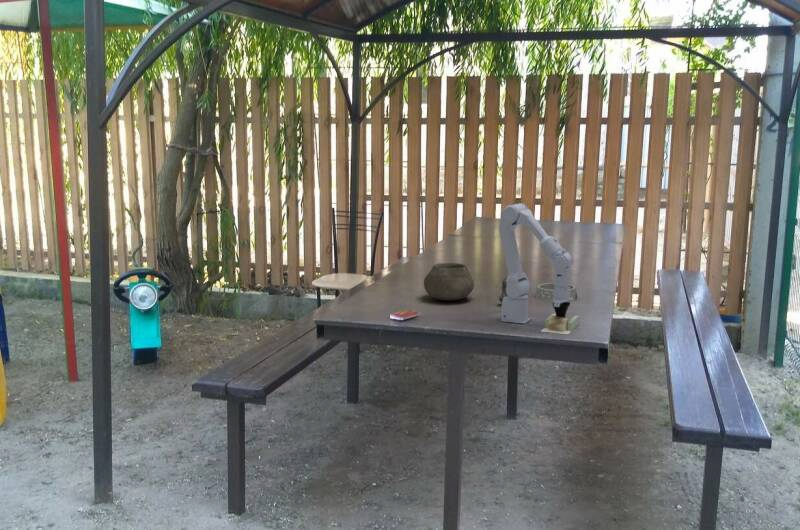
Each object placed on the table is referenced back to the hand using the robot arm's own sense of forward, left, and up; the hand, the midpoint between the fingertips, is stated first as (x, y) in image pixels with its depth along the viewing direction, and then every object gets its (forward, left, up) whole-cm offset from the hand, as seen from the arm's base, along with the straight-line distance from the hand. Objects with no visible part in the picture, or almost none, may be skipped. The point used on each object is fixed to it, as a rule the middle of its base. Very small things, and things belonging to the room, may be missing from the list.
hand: (560, 322), depth 283 cm
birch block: (0, -4, -2) cm, 4 cm away
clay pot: (-54, +25, -2) cm, 59 cm away
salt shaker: (-29, +25, -2) cm, 38 cm away
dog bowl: (-14, +47, -2) cm, 49 cm away
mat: (0, -6, -2) cm, 7 cm away
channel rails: (0, +2, -2) cm, 3 cm away
